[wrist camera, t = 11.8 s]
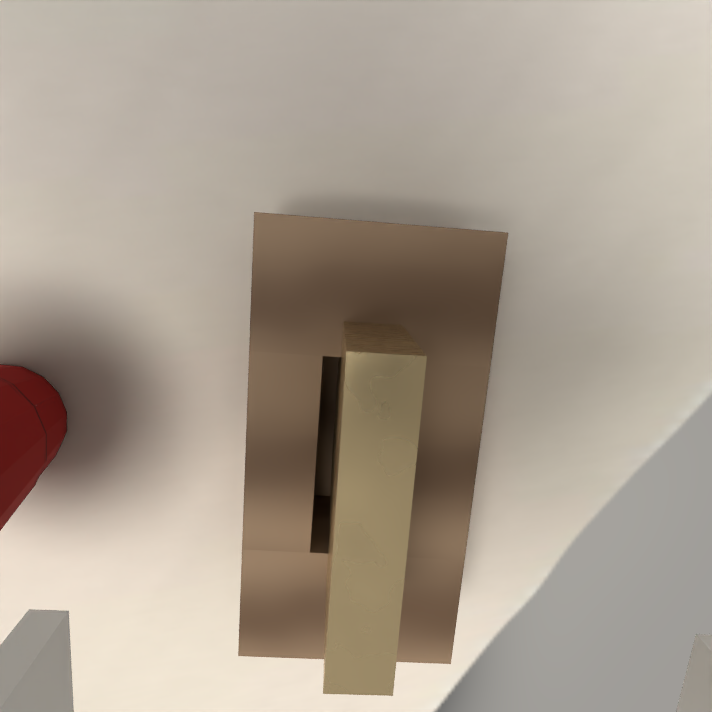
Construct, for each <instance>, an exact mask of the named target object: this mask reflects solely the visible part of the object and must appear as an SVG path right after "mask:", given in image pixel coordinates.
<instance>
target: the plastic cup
mask: <svg viewBox="0 0 712 712" xmlns="http://www.w3.org/2000/svg"><path fill="white" fill-rule="evenodd" d="M66 432H67V412H66V409H65V407H64V405H63V402H62V400H61V398H60V395H59V393H58V392H57V391H56V390H55V389H54V388H53V387H52V386H51V385H50V384H49V382H48V381H47V380H46V379H45V378H44V377H42V376H40V375H38V374H36V373H34V372H32V371H30V370H28V369H26V368H24V367H19V366H10V365H0V530H1V529H2V528H3V526H4V525H5V524H6V522H7V521H8V520H9V518H10V517H11V516H12V515H13V513H14V512H15V511H16V509H17V508H18V507H19V505H20V504H21V503H22V501H23V500H24V499H25V498H26V496H27V495H28V494H29V492H30V491H31V490H32V488H33V487H34V486H35V484H36V482H37V480H38V478H39V476H40V475H41V473H42V472H43V471H44V470H45V468H46V467H47V466H48V465H49V463H50V462H51V461H52V460H53V458H54V457H55V456H56V454H57V451H58V449H59V447H60V445H61V443H62V441H63V439H64V436H65V434H66Z"/></svg>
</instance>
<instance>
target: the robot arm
mask: <svg viewBox="0 0 712 712" xmlns="http://www.w3.org/2000/svg"><path fill="white" fill-rule="evenodd" d="M0 712H74V709H73V689H72V669H71V649H70V629H69V611H57V610H30V609H29V610H28V612H27V613H26V614H25V615H24V617H23V618H22V619H21V620H20V622H19V623H18V624H17V625H16V626H15V628H14V629H13V630H12V631H11V633H10V634H9V635H8V636H7V638H6V639H5V640H4V641H3V643H2V644H1V645H0ZM676 712H712V635H702V634H696V636H695V640H694V644H693V648H692V652H691V656H690V659H689V663H688V667H687V671H686V675H685V679H684V683H683V687H682V691H681V694H680V698H679V702H678V706H677V710H676Z"/></svg>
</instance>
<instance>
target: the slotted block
mask: <svg viewBox="0 0 712 712" xmlns="http://www.w3.org/2000/svg"><path fill="white" fill-rule="evenodd" d="M507 238H508V233H505V232H493V231H481V230H468V229H456V228H444V227H431V226H419V225H407V224H394V223H382V222H370V221H357V220H345V219H333V218H320V217H308V216H296V215H283V214H271V213H259V212H254V234H253V262H252V290H251V318H250V346H249V373H248V401H247V429H246V457H245V485H244V513H243V540H242V568H241V596H240V624H239V652H238V656H254V657H281V658H308V659H324V645H325V608H326V578H327V563H328V548H329V533H330V484H331V468H332V453H333V438H334V422H335V407H336V392H337V376H338V361H339V357H341V352H342V337H343V322H344V321H346V322H361V323H377V324H392V325H403V327H404V328H405V329H406V331H407V332H408V333H409V334H410V336H411V337H412V338H413V339H414V341H415V342H416V343H417V344H418V346H419V347H420V348H421V349H422V351H423V352H424V353H425V354H426V356H427V361H426V370H425V380H424V390H423V400H422V410H421V420H420V430H419V440H418V450H417V460H416V470H415V480H414V490H413V500H412V509H411V519H410V529H409V539H408V549H407V559H406V569H405V579H404V589H403V599H402V609H401V619H400V629H399V638H398V648H397V658H396V662H416V663H443V664H451V657H452V650H453V642H454V635H455V627H456V620H457V612H458V605H459V597H460V590H461V582H462V575H463V567H464V560H465V552H466V545H467V538H468V530H469V523H470V515H471V508H472V500H473V493H474V485H475V478H476V470H477V463H478V455H479V448H480V440H481V433H482V425H483V418H484V410H485V403H486V395H487V388H488V380H489V373H490V365H491V358H492V350H493V343H494V335H495V328H496V320H497V313H498V305H499V298H500V290H501V283H502V275H503V268H504V260H505V253H506V245H507Z"/></svg>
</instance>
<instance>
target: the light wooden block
mask: <svg viewBox="0 0 712 712" xmlns="http://www.w3.org/2000/svg"><path fill="white" fill-rule="evenodd" d="M426 361H427V356H426V354H425V353H424V352H423V351H422V349H421V348H420V347H419V346H418V344H417V343H416V342H415V341H414V339H413V338H412V337H411V336H410V334H409V333H408V332H407V331H406V329H405V328H404V327H403V325H392V324H377V323H361V322H346V321H344V322H343V337H342V352H341V357H339V361H338V376H337V392H336V407H335V422H334V438H333V453H332V468H331V484H330V533H329V548H328V563H327V578H326V608H325V645H324V681H323V694H353V695H389V696H393V688H394V678H395V668H396V658H397V648H398V638H399V629H400V619H401V609H402V599H403V589H404V579H405V569H406V559H407V549H408V539H409V529H410V519H411V509H412V500H413V490H414V480H415V470H416V460H417V450H418V440H419V430H420V420H421V410H422V400H423V390H424V380H425V370H426Z"/></svg>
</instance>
